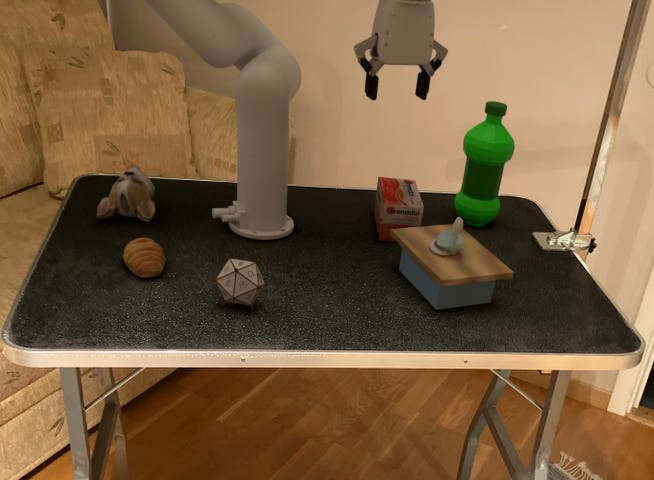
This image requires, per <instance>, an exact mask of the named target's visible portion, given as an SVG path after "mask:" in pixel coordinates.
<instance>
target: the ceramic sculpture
mask: <svg viewBox="0 0 654 480" xmlns="http://www.w3.org/2000/svg"><path fill="white" fill-rule="evenodd" d="M155 193H156V187H155V185H154V184H153V182H152V181H151V178H150V177H149V176H148V175H147V173H146V172H145V171H143V170H142V169H141V168H140V166H139V165H138V164H135V165H134V166H133V167H132V168H129V169H128V170H126V171H124V172H123V173H121V174H120V175H119V177H118V179H117V180H116V181H115V182H114V183H113V185H112V187H111V190H110V191H109V194H108V196H106V197H103V198H101V199H100V202H99V203H98V204H97V209H96V215H95V217H96V219H102V220H104V219H105V220H106V219H112V218H113V217H114V216H115V215H116V214H118V215H119V216H121V217H125V218H138V219H139V220H141V221H143V222H146V223H149V222H151V221H152V220H154V218H155V215H156V212H157V208H156V203H155V201H154V200H153V198H154V197H155Z"/></svg>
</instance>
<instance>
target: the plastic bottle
mask: <svg viewBox="0 0 654 480" xmlns="http://www.w3.org/2000/svg"><path fill="white" fill-rule="evenodd" d="M507 110H508V105H507V104H506V103H503V102H501V101H495V100H490V101H489V100H488V101H486V102H485V106H484V114H486V115H485V120H483V121H481V122H480V123H478V124H476V125H475V126H473V127H472V128H470V129H469V130H467V132H466V133H465V135H464V136H463V141H462V150H463V153H464V155H465V156H466V159H465V165H464V171H463V177H462V182H461V188H460V190H459V191H458V192H457V193H456V195H455V197H454V202H453V204H454V209H455V211H456V214H457V216H458V217H460V218H461V219H462V220H463V224H466V225H469V226H473V227H484V226H485V225H486V224H488V223H489V222H491V221H492V220H494V219H495V218H496V217H497V216H498V214H499V213H500V211H501V201H500V198H499V194H500V193H499V192H500V190H501V189H500V188H501V184H502V179H503V175H504V174H503V173H504V169H505V164H506V163H508V162H509V161H511V160H512V158H513V155H514V153H515V148H516V145H515V140H514V138H513V137H512V134H510V132H509V131H508V129H507V128H506V126H505V125H504V124H503V123H502V122H503V117H505V116H506V115H507Z"/></svg>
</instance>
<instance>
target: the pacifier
mask: <svg viewBox="0 0 654 480" xmlns="http://www.w3.org/2000/svg"><path fill="white" fill-rule="evenodd" d="M452 224H453V227H452V230H446V231H443V232H442V233H440V234H439V236H438V237H437V239H433V240H432V241H431V242H430V244H429V246H430V249H431V250H432V251H433V252H434V253H436V254H439V255H449V254H456V252H457V251H463V250H465V248H463V247H461V245H462V243H463V237H462V235H461V234H460V232H461V230H462V228H463V229H464V222H463V220H462V219H461V218H460V217H459V216H458V217H456V219H455V220H454V222H453V223H452ZM457 239H458V240H457ZM456 240H457V241H456ZM436 243H437V245H438V246H440V247H442V248H443V251H441V250H438V249H437V248H436V247H435V246H434V245H435V244H436Z"/></svg>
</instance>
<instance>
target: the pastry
mask: <svg viewBox="0 0 654 480" xmlns="http://www.w3.org/2000/svg"><path fill="white" fill-rule="evenodd" d="M122 259H123V262H124V264H125V266H126V267H127V269H128V270H130V271H131V272H132V273H133V275H134V276H136V277H139V278H141V279H145V278H151V277H152V278H153V277H158V276H160V275H161V273H162V272H163V270H164V267H165V264H166V260H167V257H166V256H165V254H164V248H163V247H162V246H161V245H160V244H159V243H157V242H155V241H154V240H153V239H151V238H148V237H138V238H135V239H134V240H130V242H128V243H127V244H126V246H125V248H124V250H123V255H122Z"/></svg>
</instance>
